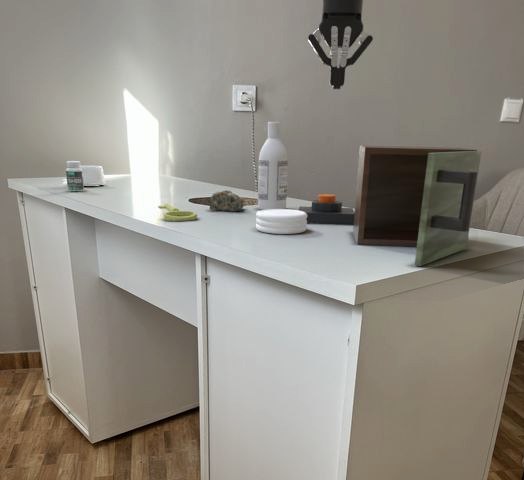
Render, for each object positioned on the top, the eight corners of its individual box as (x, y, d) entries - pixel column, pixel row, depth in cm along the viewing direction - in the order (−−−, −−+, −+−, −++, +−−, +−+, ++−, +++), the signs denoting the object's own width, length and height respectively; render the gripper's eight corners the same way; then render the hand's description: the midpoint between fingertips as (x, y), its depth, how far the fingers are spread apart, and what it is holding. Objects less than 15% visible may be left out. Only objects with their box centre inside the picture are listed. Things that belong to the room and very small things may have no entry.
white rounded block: (111, 185, 183) (110, 166, 181) (87, 187, 176) (85, 167, 174) (88, 183, 190) (86, 164, 187) (64, 185, 182) (61, 165, 180)
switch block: (351, 217, 127) (353, 199, 125) (354, 224, 117) (356, 205, 116) (299, 216, 128) (299, 198, 126) (297, 222, 118) (298, 203, 117)
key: (167, 212, 128) (167, 203, 127) (201, 219, 120) (201, 209, 119) (141, 215, 123) (140, 205, 123) (174, 222, 115) (174, 212, 115)
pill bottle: (66, 191, 164) (63, 161, 161) (68, 190, 169) (65, 160, 165) (83, 191, 165) (80, 162, 162) (85, 190, 169) (82, 161, 166)
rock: (215, 207, 139) (215, 188, 137) (246, 208, 138) (246, 189, 136) (208, 211, 132) (208, 191, 131) (240, 212, 131) (240, 192, 130)
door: (498, 253, 92) (516, 152, 86) (455, 272, 79) (473, 154, 73) (460, 247, 95) (475, 150, 89) (414, 264, 82) (428, 152, 77)
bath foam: (286, 207, 140) (289, 122, 133) (285, 211, 134) (289, 122, 127) (258, 207, 141) (260, 121, 133) (257, 210, 134) (258, 121, 127)
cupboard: (462, 248, 96) (477, 149, 90) (357, 244, 97) (365, 147, 91) (447, 235, 107) (459, 147, 101) (352, 232, 108) (359, 145, 102)
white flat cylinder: (317, 231, 108) (318, 213, 107) (277, 236, 103) (277, 217, 101) (284, 224, 116) (285, 207, 114) (245, 228, 110) (245, 210, 109)
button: (334, 202, 123) (335, 194, 122) (335, 204, 119) (335, 196, 119) (318, 202, 123) (318, 194, 122) (318, 204, 120) (319, 195, 119)
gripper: (308, -19, 101) (303, 86, 107) (381, -17, 100) (372, 88, 107) (308, -9, 108) (303, 89, 114) (376, -8, 107) (367, 91, 114)
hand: (336, 88), depth 111 cm, fingers closed
